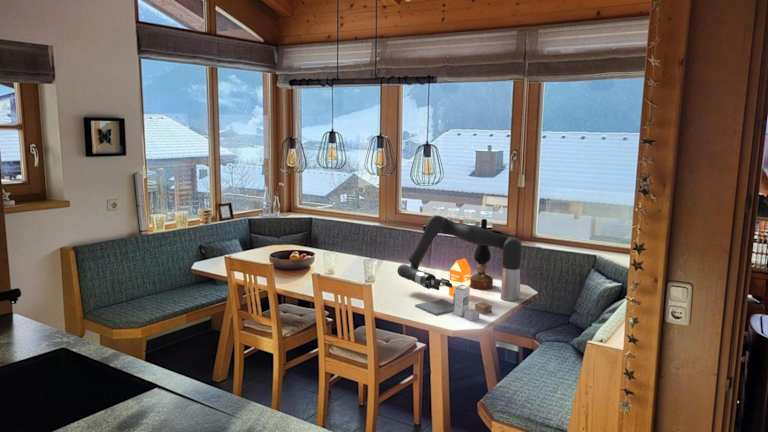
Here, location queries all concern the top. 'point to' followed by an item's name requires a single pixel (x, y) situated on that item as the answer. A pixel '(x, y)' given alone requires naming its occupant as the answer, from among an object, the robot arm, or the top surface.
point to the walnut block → (483, 308)
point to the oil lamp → (482, 266)
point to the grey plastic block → (471, 315)
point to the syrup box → (460, 299)
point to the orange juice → (459, 275)
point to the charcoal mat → (436, 307)
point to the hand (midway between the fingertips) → (445, 287)
